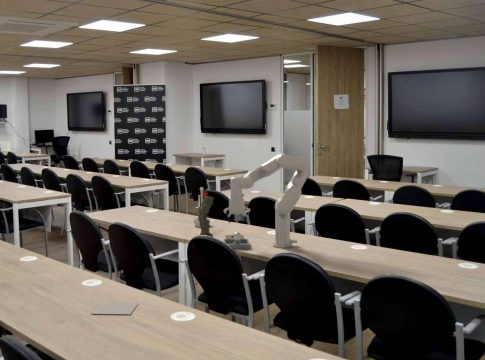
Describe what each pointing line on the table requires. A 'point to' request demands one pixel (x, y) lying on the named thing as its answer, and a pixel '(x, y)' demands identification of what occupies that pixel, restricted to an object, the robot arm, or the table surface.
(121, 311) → the grey flat slab
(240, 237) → the pin block
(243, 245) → the tray
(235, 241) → the pin
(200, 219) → the mechanical leg
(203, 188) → the flag stand
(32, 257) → the table surface
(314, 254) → the table surface
